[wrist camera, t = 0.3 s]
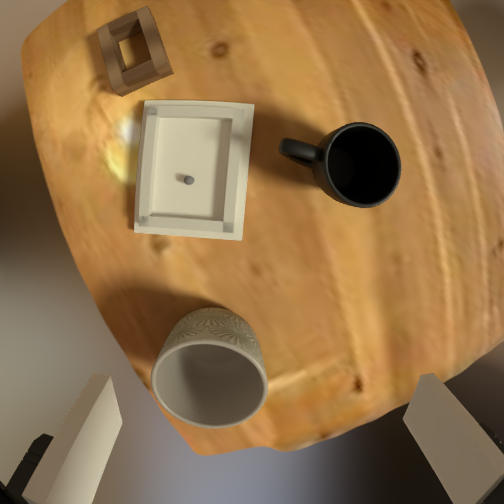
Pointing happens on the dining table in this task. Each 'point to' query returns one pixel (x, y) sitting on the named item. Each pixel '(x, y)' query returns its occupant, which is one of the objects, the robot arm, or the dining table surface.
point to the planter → (210, 370)
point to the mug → (351, 163)
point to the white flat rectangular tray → (193, 168)
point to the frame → (113, 58)
